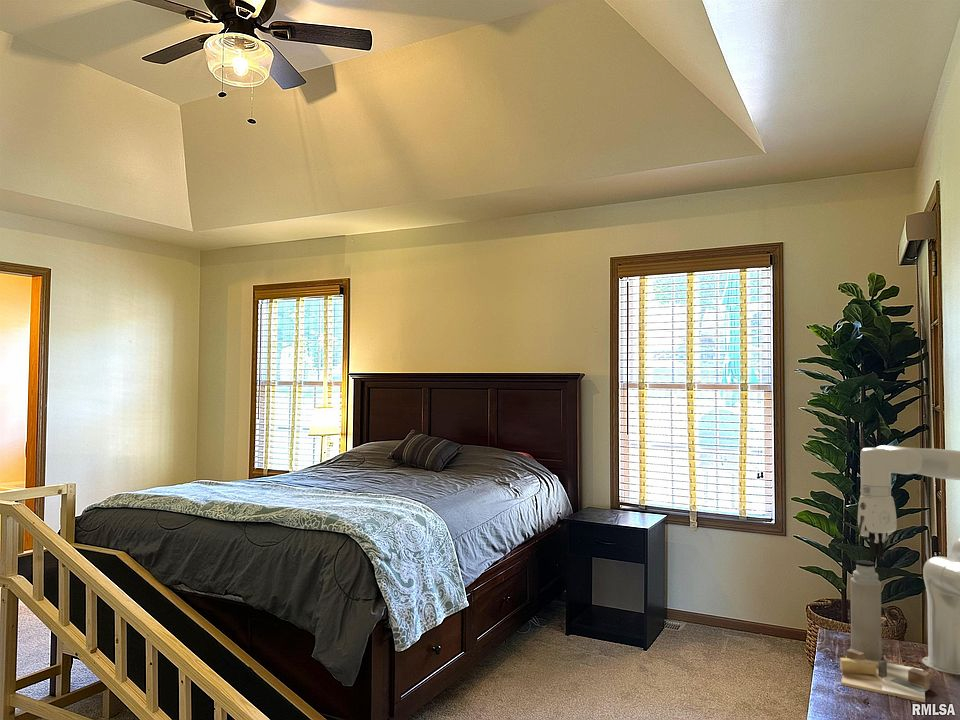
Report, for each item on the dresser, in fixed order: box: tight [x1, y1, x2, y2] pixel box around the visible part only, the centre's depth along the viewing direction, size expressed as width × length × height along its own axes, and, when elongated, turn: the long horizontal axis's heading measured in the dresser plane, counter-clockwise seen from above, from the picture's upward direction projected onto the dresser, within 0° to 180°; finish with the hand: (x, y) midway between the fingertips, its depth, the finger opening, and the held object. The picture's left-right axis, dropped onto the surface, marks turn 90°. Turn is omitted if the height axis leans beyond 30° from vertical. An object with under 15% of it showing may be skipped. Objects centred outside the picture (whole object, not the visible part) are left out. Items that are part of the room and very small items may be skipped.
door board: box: [840, 648, 931, 703], centre depth 191 cm, size 21×20×5 cm
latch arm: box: [839, 657, 876, 675], centre depth 192 cm, size 8×2×3 cm, turn 78°
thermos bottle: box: [850, 559, 883, 661], centre depth 208 cm, size 8×8×28 cm
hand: (876, 556), depth 198 cm, fingers closed
